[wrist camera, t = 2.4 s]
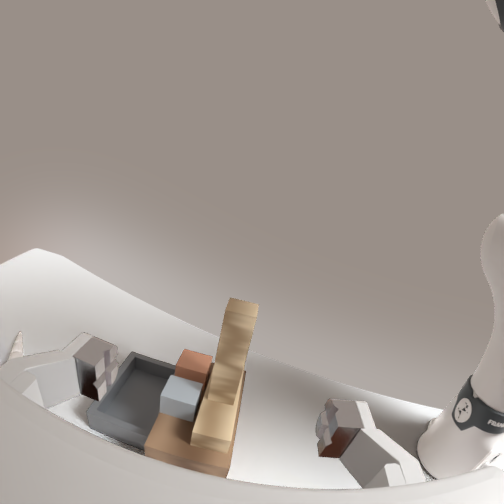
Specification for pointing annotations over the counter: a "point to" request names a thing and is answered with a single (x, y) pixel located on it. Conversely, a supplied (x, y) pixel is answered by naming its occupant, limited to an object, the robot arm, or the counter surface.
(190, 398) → the pale blue-grey cube
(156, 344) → the counter surface
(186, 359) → the salmon orange block
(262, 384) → the counter surface
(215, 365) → the wooden inverted t block
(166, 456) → the wide wooden plinth
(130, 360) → the bin
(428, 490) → the robot arm
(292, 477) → the counter surface
